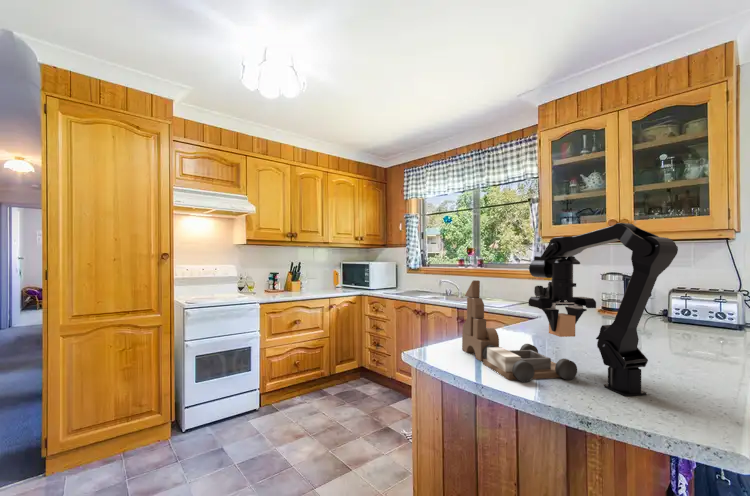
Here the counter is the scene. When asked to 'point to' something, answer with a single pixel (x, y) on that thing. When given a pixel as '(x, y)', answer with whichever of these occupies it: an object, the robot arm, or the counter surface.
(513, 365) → the chassis
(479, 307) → the wooden toy
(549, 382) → the counter surface
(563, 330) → the orange block
